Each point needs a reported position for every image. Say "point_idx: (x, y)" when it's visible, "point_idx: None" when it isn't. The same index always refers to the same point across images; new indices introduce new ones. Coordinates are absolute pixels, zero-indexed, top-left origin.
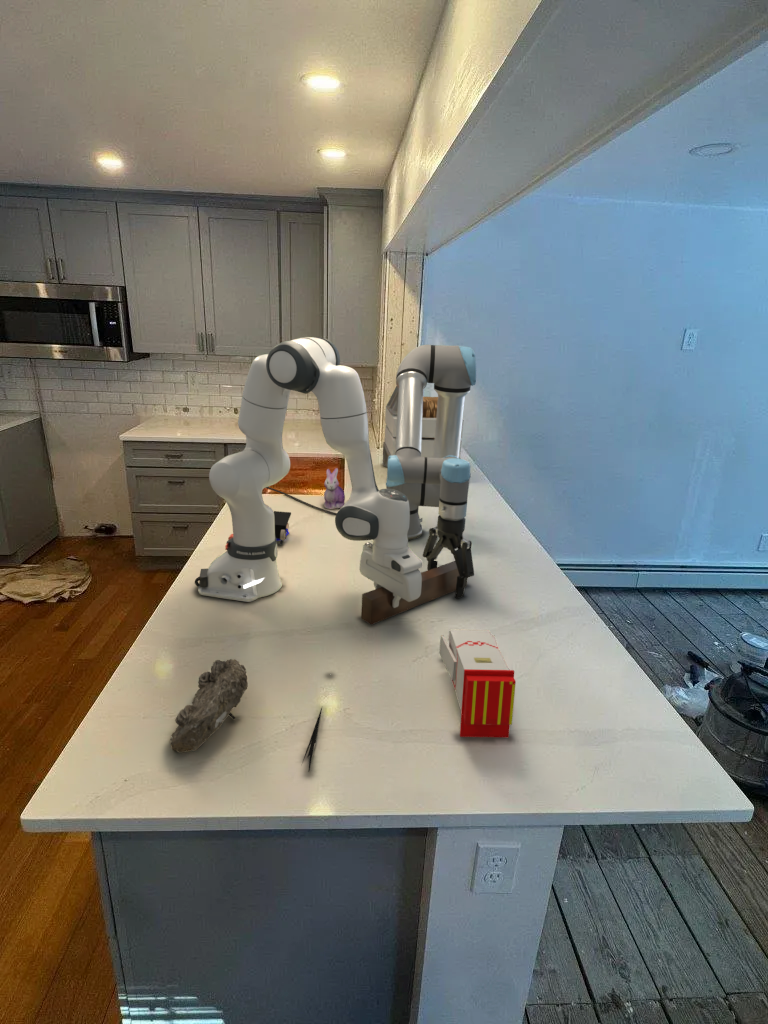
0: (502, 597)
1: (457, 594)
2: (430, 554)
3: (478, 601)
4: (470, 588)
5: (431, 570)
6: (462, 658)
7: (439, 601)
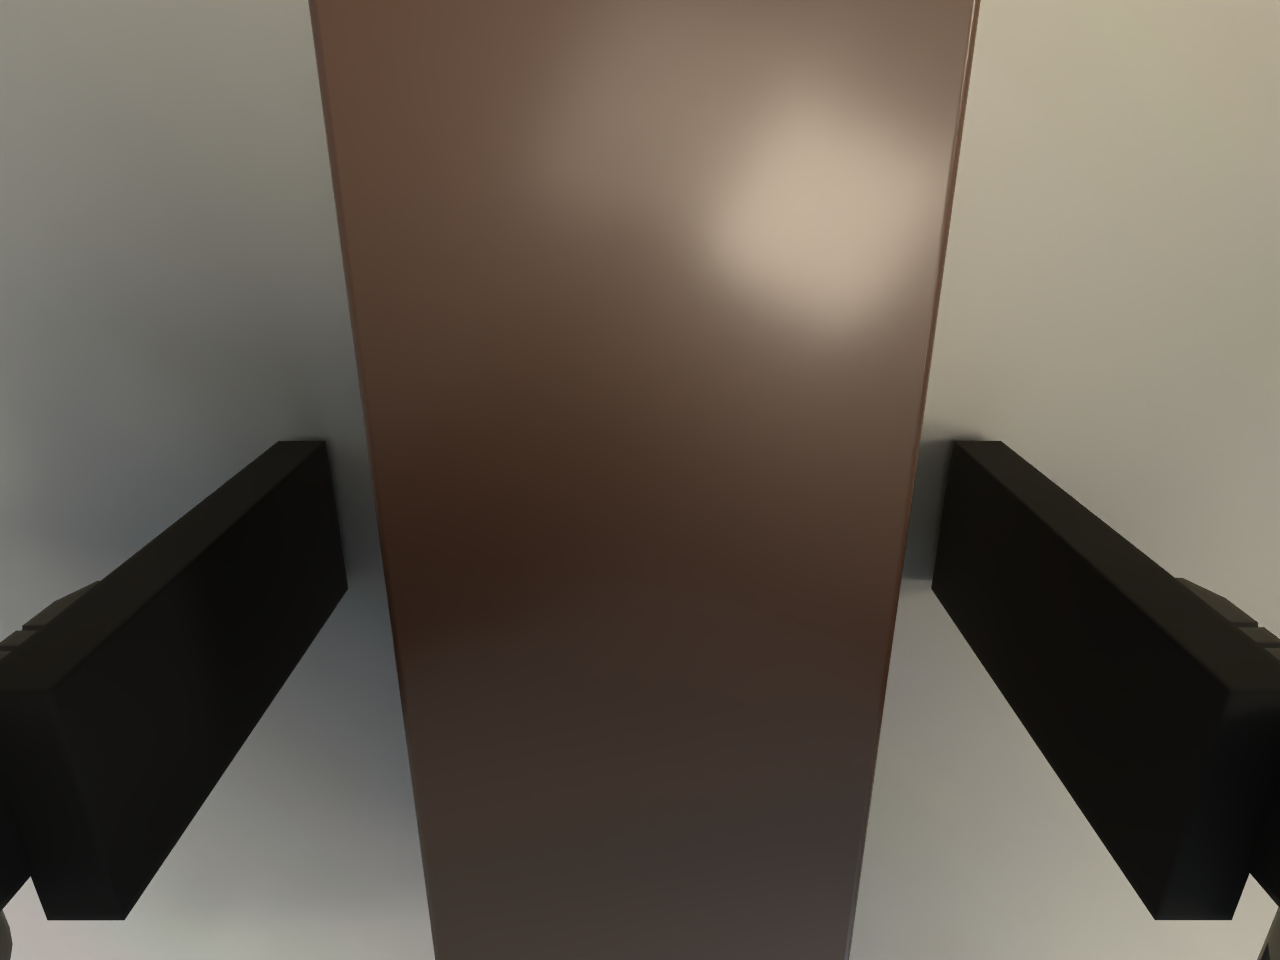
0: (57, 934)
1: (244, 471)
2: None
3: None
4: None
5: (843, 266)
6: None
7: None
